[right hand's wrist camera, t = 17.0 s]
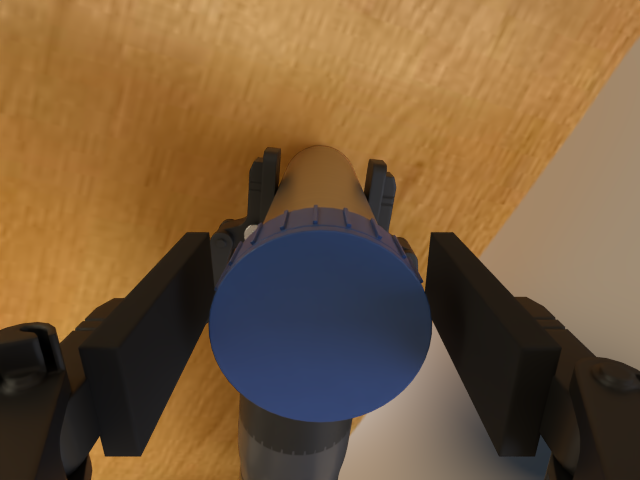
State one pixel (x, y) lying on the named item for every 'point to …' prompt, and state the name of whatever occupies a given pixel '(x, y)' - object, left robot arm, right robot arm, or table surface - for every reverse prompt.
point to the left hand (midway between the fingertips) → (325, 157)
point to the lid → (320, 316)
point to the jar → (319, 184)
